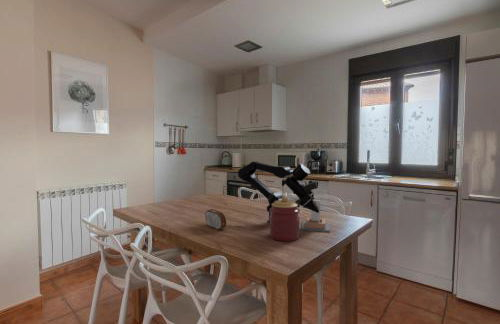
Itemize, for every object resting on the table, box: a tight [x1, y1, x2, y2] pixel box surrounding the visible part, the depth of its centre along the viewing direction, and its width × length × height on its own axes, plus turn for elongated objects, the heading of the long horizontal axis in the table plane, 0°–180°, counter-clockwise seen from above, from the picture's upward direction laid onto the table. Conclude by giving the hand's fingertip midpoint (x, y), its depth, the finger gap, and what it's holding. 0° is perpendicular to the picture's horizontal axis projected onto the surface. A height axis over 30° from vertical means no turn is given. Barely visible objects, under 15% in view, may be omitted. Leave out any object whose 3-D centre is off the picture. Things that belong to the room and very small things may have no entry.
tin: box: [204, 208, 227, 231], centre depth 128 cm, size 15×3×8 cm, turn 41°
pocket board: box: [300, 217, 331, 233], centre depth 129 cm, size 13×13×3 cm
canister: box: [269, 195, 301, 242], centre depth 114 cm, size 13×13×18 cm
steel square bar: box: [310, 198, 321, 222], centre depth 128 cm, size 4×4×12 cm
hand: (318, 210), depth 128 cm, fingers open, 9 cm apart
